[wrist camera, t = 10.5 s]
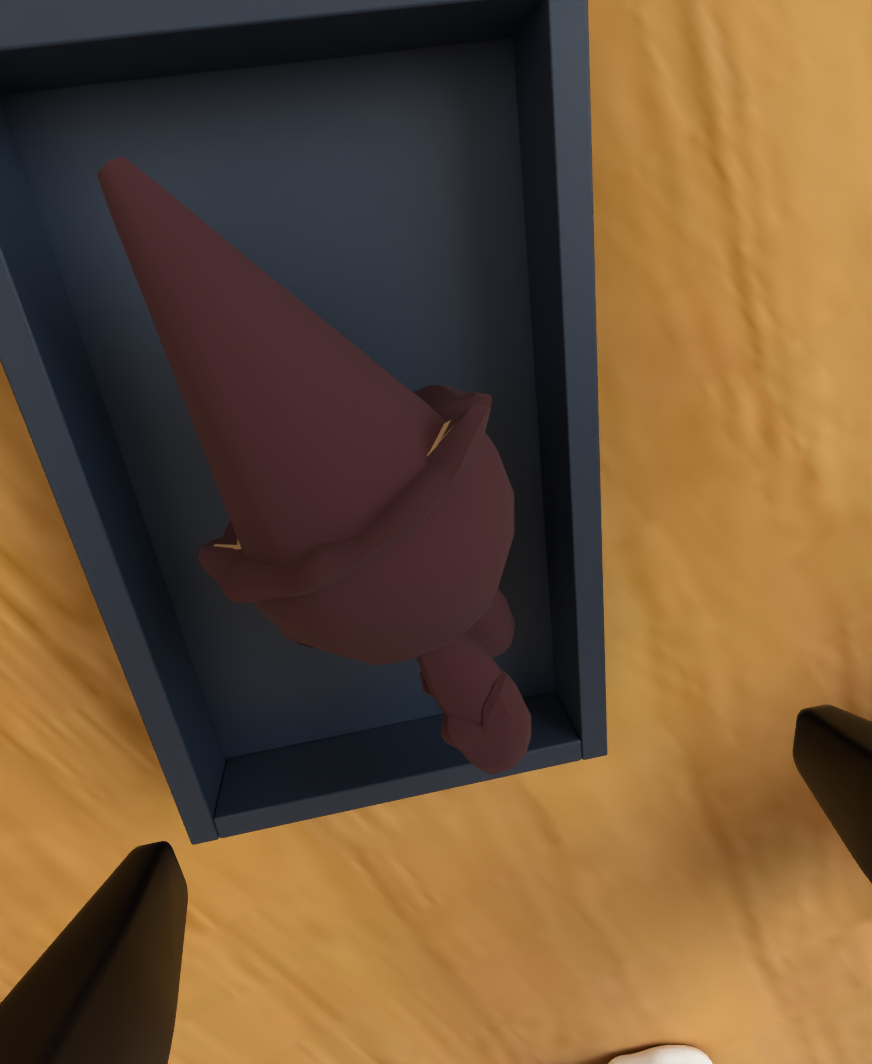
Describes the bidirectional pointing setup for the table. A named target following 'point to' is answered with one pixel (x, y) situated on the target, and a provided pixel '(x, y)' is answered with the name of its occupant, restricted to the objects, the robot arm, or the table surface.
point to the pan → (343, 302)
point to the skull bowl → (665, 1056)
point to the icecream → (334, 475)
